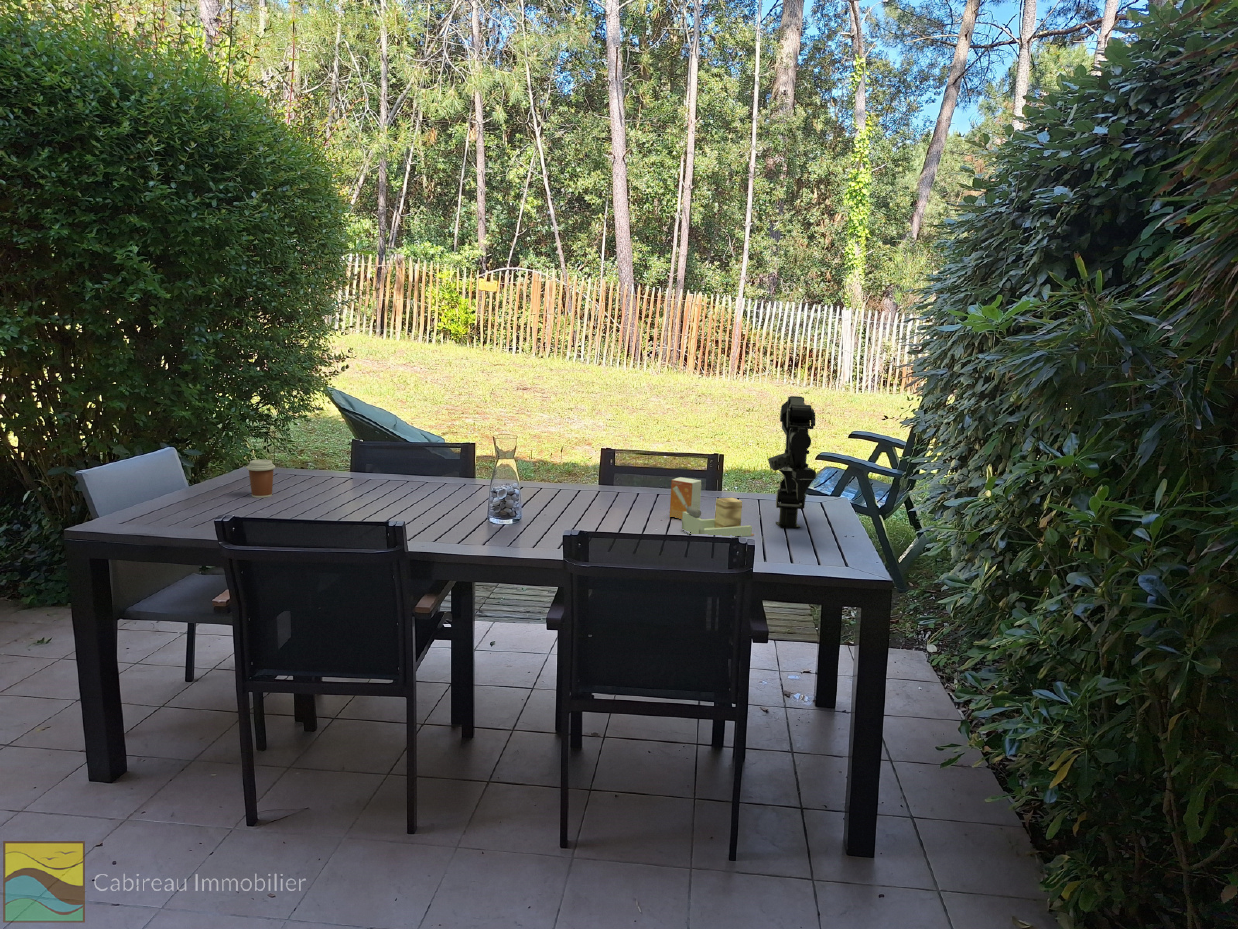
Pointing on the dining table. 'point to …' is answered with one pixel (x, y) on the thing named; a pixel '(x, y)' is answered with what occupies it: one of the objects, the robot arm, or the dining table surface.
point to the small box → (684, 495)
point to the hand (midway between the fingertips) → (794, 496)
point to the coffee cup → (261, 477)
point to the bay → (710, 525)
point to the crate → (728, 512)
